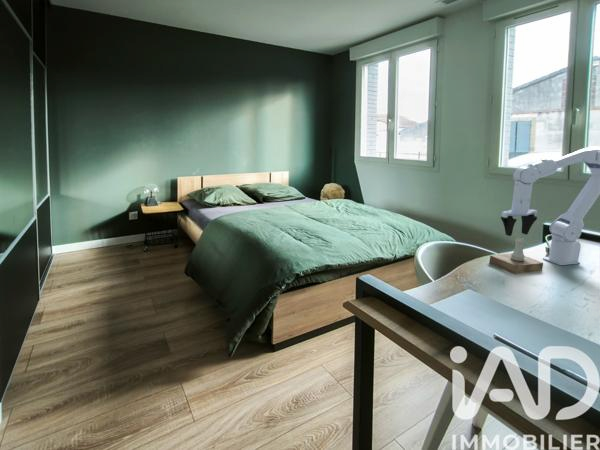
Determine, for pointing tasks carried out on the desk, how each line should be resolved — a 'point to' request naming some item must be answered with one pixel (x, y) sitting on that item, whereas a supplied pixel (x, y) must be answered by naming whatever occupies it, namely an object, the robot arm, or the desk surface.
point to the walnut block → (516, 264)
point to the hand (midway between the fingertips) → (516, 234)
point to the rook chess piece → (518, 250)
